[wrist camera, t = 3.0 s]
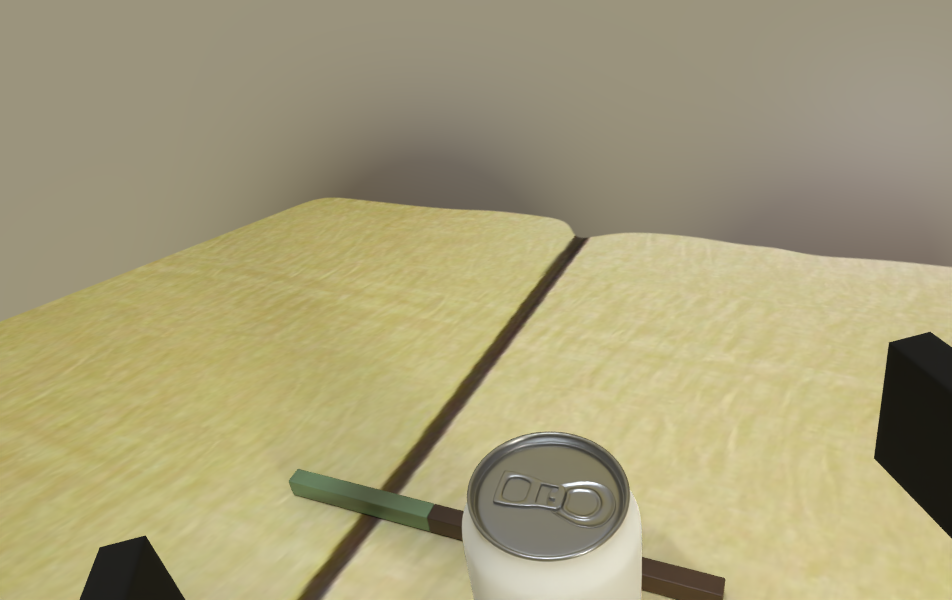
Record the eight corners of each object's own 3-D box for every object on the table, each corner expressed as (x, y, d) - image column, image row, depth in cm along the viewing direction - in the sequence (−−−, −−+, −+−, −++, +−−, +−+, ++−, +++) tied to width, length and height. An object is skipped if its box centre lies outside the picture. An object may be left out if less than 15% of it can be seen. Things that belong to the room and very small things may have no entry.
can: (626, 775, 28) (626, 592, 21) (471, 726, 30) (426, 547, 23) (649, 623, 32) (655, 437, 26) (515, 591, 35) (488, 411, 28)
